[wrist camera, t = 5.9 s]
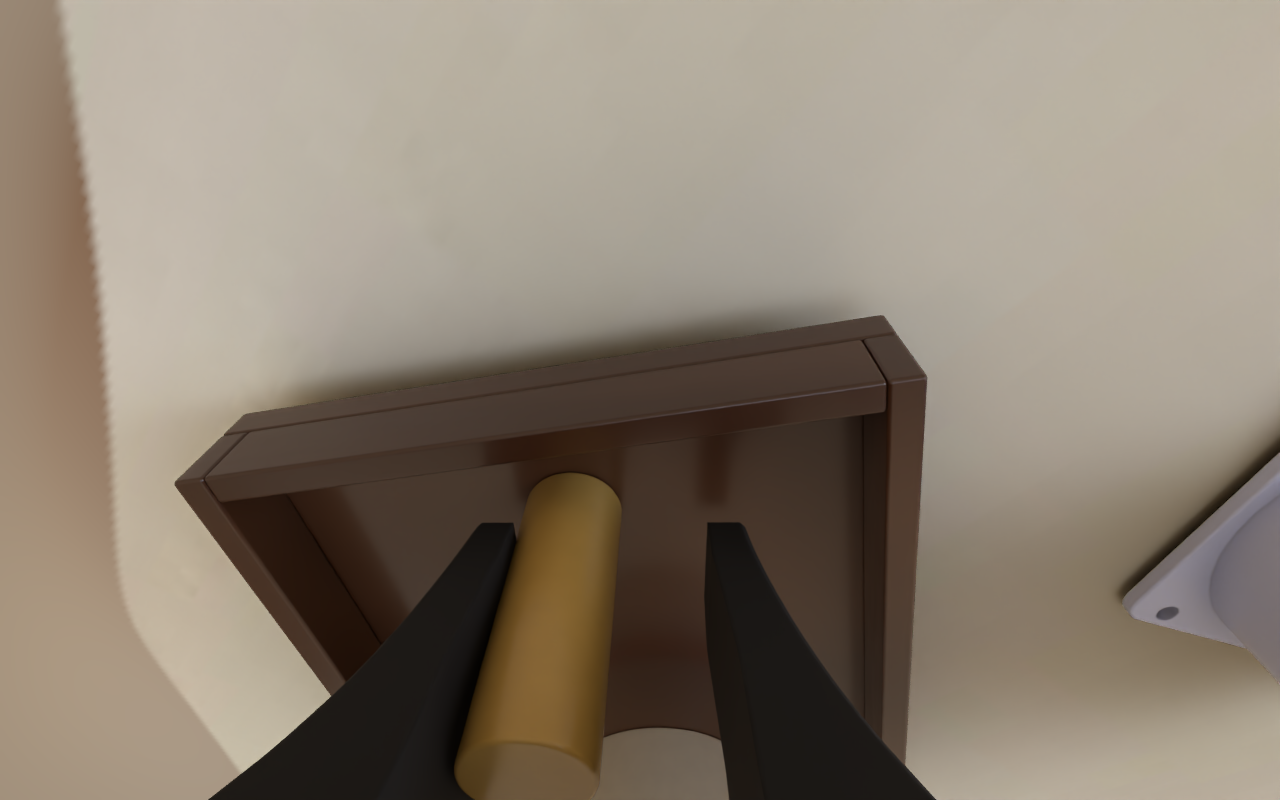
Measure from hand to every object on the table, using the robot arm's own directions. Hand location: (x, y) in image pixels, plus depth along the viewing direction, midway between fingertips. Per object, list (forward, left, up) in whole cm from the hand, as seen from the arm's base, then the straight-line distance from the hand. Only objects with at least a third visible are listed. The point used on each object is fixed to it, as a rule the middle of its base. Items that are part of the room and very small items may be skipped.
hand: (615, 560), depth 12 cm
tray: (-2, +5, -2) cm, 6 cm away
